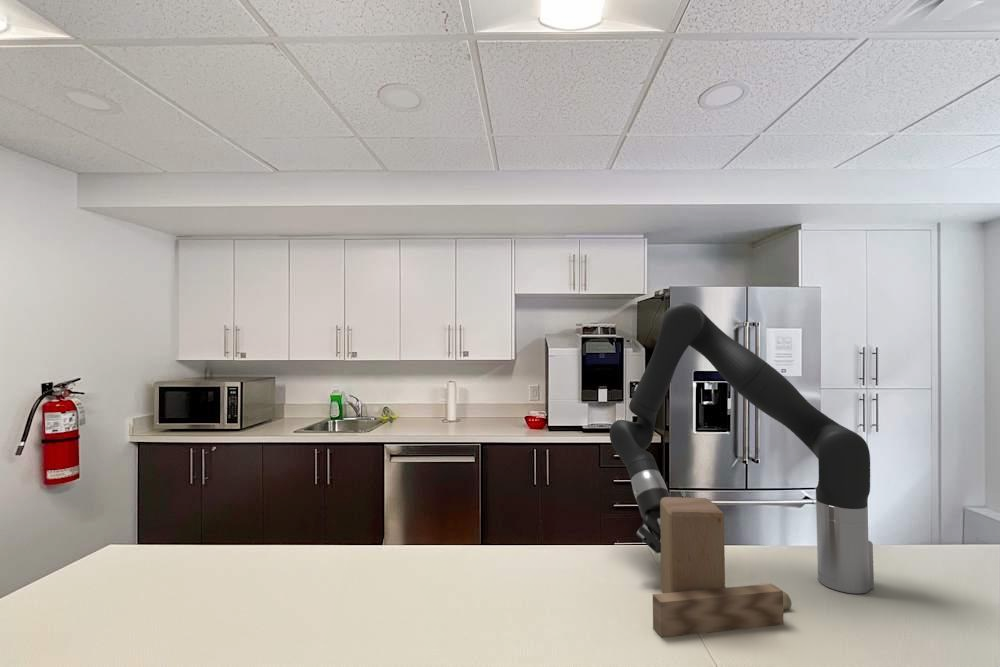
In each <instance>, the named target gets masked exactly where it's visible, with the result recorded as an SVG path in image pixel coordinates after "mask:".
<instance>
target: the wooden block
mask: <svg viewBox="0 0 1000 667" xmlns="http://www.w3.org/2000/svg"><path fill="white" fill-rule="evenodd" d="M660 523H661V553H660V570H661V571H660V575H661V576H660V578H661V580H660V581H661V582H660V584H661V585H660V586H661V587H660V588H661V589H660V590H661V594H662V593H673V592H684V591H695V590H706V589H717V588H726V562H725V556H726V555H725V553H726V552H725V515H724V512H723V511H722V510H721V509H720V508H719V507H718V506H717V505H716V504H715V503H713V502H712V501H711V499H709V498H707V497H684V496H683V497H680V496H679V497H678V496H674V497H673V496H670V497H664V498H662V499H661V501H660Z"/></svg>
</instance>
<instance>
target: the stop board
mask: <svg viewBox="0 0 1000 667" xmlns="http://www.w3.org/2000/svg"><path fill="white" fill-rule="evenodd" d="M783 592H784V590H782V589H781V588H779V587H777V586H776V585H775V584H773V583H765V584H764V583H763V584H753V585H752V584H751V585H740V586H730V587H728V586H727V587H725V588H717V589H706V590H695V591H684V592H673V593H662V592H661V593H654V594H653V593H652V629H653V630H654V631H655V632H656V634H657V635H658V636H659V637H660V638H666V637H667V638H669V637H677V636H686V635H688V636H689V635H696V634H705V633H715V632H725V631H732V630H733V631H735V630H742V629H743V630H744V629H752V628H762V627H771V626H780V625H784V623H785V622H784V620H785V619H784V618H785V617H784V610H783Z"/></svg>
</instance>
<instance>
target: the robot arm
mask: <svg viewBox="0 0 1000 667" xmlns="http://www.w3.org/2000/svg"><path fill="white" fill-rule="evenodd" d="M689 347H691V348H693V349H694V350H695V351H697V353H699V354H701V355H702V356H703V357H704V358H705V359H706V360H707V361H708V362H709V363H710V364H711V365H712V366H713V368H714V369H715V370H716V371H717V372H718V374H719V375H720V376H721V377H722V378H723V379H724V380H725V381H726V382H727V383H728V384H729V385H730V386H731V387H732V388H733V389H734V390H735V392H737V393H738V394H739V395H740V396H742V397H743V398H744V400H747V401H748V402H749V403H751V405H753V406H754V407H756V408H757V409H758V410H759V411H761V412H762V413H764V414H766V415H767V416H769V417H770V418H772V419H773V420H775V421H777V422H779V423H780V424H782V425H783V426H784V427H786V428H787V429H788V430H789V431H790V432H792V433H793V434H794V435H795V437H797V438H798V439H799V440H800V441H801V442H802V443H804V445H805V446H806V447H807V448H808V449H809V450H810V451H811V453H813V455H815V457H816V458H817V459H818V461H817V464H818V482H817V486H815V487H816V488H815V508H816V509H815V510H816V511H815V513H816V544H817V546H816V547H817V549H816V550H817V551H816V552H817V554H816V555H817V557H816V558H817V580H818V582H819V583H820V584H822V585H823V586H825V587H827V588H829V589H832V590H835V591H839V592H842V593H848V594H858V595H859V594H865V593H868V592H870V590H873V589H875V581H874V580H875V579H874V578H875V577H874V574H875V573H874V545H873V542H872V541H871V540H870V539H869V515H868V514H869V513H868V512H869V511H868V510H869V509H868V507H869V506H868V498H869V497H870V496H869V495H870V492H871V453H870V449H869V448H870V447H869V446H868V443H867V441H866V440H865V439H864V438H863V437H862V436H861V435H860V434H858V433H856V432H855V431H853V430H851V429H850V428H847V427H845V426H844V425H841V424H839V423H838V422H836V421H835V420H833V419H832V418H831V417H829V416H827V415H826V414H824V413H823V412H821V411H820V410H819V409H817V408H816V407H814V406H813V405H812V404H811V403H810V402H809V401H808V400H807V399H806V398H805V397H804V395H803V394H801V393H800V391H799V390H798V389H797V388H796V387H795V386H794V385H793V384H792V383H791V382H790V380H788V379H787V378H786V377H785V376H784V375H783V374H781V372H779V371H778V370H777V369H775V368H774V367H773V366H771V365H770V364H769V363H768V362H767V361H765V360H764V359H762V358H761V357H760V356H758V354H756V353H754V352H753V351H752V350H750V349H749V348H747V347H746V346H744V345H743V344H741V343H740V342H738V341H737V340H735V339H734V338H731V337H730V336H729V335H728V334H726V333H725V332H724V331H723V330H722V329H720V328H719V326H717V325H716V324H715V322H713V321H712V319H710V318H709V317H708V316H707V315H706V314H705V313H704V311H703V310H702V309H701V308H700V307H698V306H697V305H696V304H694V303H690V302H678V303H675V304H673V305H671V306H669V308H667V310H666V311H665V312H664V314H663V316H662V322H661V325H660V329H659V333H658V337H657V340H656V344H655V346H654V348H653V349H654V350H653V352H652V354H651V357H650V359H649V361H648V363H647V366H646V368H645V370H644V372H643V374H642V375H641V378H640V380H639V381H638V384H637V387H636V388H635V391H634V393H633V394H632V397H631V399H630V402H629V405H628V408H629V411H630V412H631V413H633V415H635V416H637V420H636V422H634V421H629V420H625V419H619V420H615V421H614V422H612V424H611V426H610V429H609V440H610V444H611V446H612V447H613V449H614V450H615V452H616V454H617V456H618V457H619V459H620V460H621V461H622V463H623V464H624V466H625V467H626V470H627V473H628V476H629V479H630V483H631V486H632V492H633V495H634V497H635V498H634V499H635V501H636V503H637V507H638V509H639V513H640V516H641V518H642V526H639V528H638V530H637V531H636V536H637V537H638V538H639V539H640V540H641V541H642V542H644V543H645V544H646V545H647V546H648V547H649V548H650V549H651V550H652V551H654V552H655V554H661V523H660V501H661V499H662V498H664V497H671V495H670V492H669V489H668V487H667V485H666V483H665V480H664V478H663V476H662V475H661V472H660V470H659V467H658V465H657V462H656V459H655V457H654V456H653V454H652V453H651V452H649V451H648V450H646V449H648V447H650V445H651V443H652V442H653V438H654V434H655V426H656V421H657V417H658V416H657V415H658V412H659V411H660V408H661V407H662V404H663V402H664V401H665V397H666V395H667V393H668V391H669V388H670V385H671V383H672V380H673V377H674V374H675V371H676V368H677V366H678V364H679V362H680V360H681V358H682V356H683V355H684V353H685V351H686V350H687V349H688V348H689Z"/></svg>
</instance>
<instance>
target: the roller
mask: <svg viewBox="0 0 1000 667" xmlns="http://www.w3.org/2000/svg"><path fill="white" fill-rule="evenodd" d="M791 607H792V600H791V597H790V596H789V595H788V593H787V592H786V591H783V611H785V610H789V609H791Z"/></svg>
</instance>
